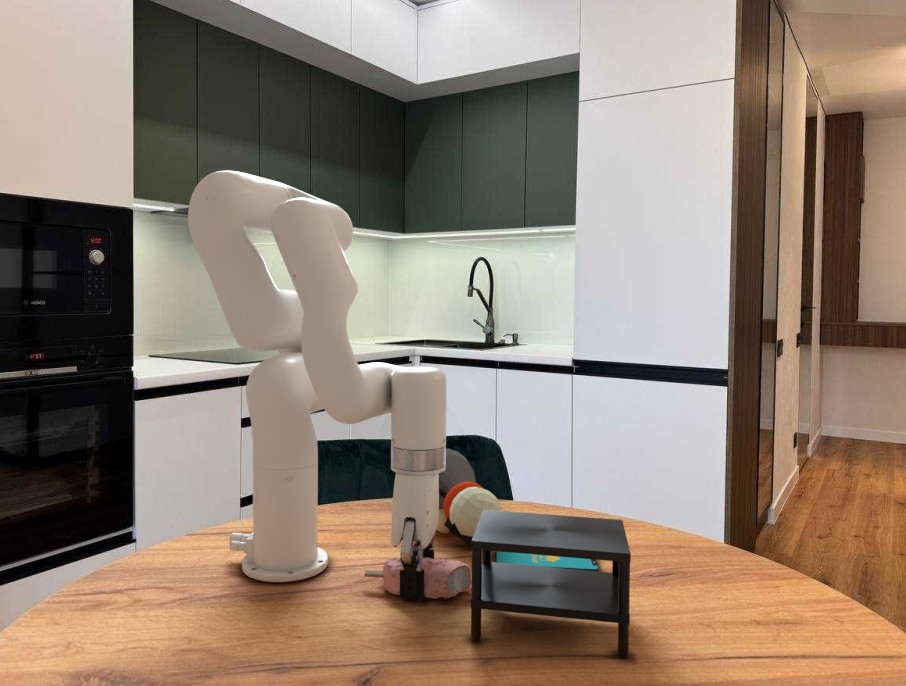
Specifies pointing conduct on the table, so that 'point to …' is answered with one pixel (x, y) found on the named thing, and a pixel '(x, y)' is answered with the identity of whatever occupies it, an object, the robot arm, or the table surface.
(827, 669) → the table surface
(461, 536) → the toy
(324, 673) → the table surface
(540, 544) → the rack
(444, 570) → the ice cream bar
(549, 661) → the table surface
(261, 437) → the robot arm
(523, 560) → the smartphone
